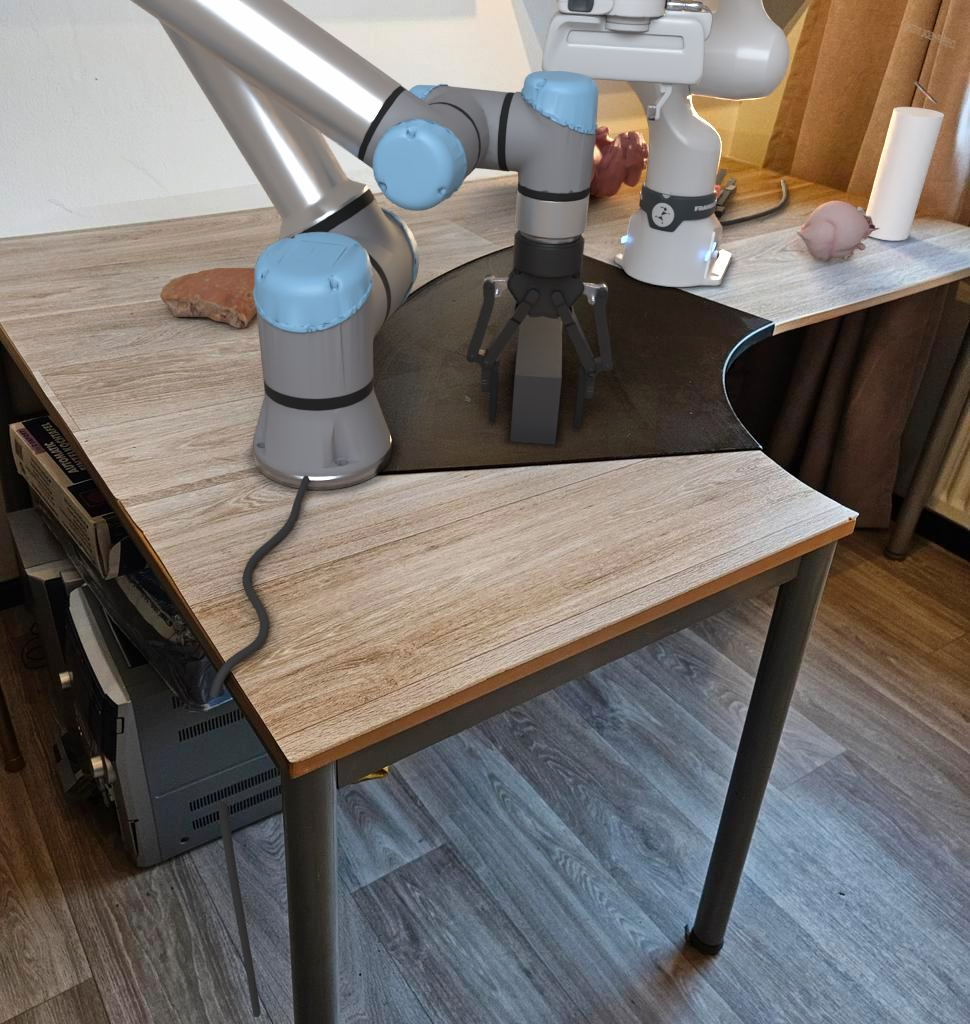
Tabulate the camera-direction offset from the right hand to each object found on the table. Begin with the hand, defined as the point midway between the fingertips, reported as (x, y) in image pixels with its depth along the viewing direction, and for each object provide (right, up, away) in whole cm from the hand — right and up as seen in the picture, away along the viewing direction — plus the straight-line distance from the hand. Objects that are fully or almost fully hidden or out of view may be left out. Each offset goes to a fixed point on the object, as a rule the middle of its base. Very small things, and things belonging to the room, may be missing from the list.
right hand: (615, 117), depth 124 cm
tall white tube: (+59, +3, +61) cm, 85 cm away
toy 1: (+29, +11, +71) cm, 78 cm away
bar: (-11, -36, -2) cm, 38 cm away
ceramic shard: (-56, -21, +17) cm, 62 cm away
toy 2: (+45, -5, +48) cm, 66 cm away
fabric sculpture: (+1, +10, +68) cm, 68 cm away
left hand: (-11, -40, -10) cm, 42 cm away
